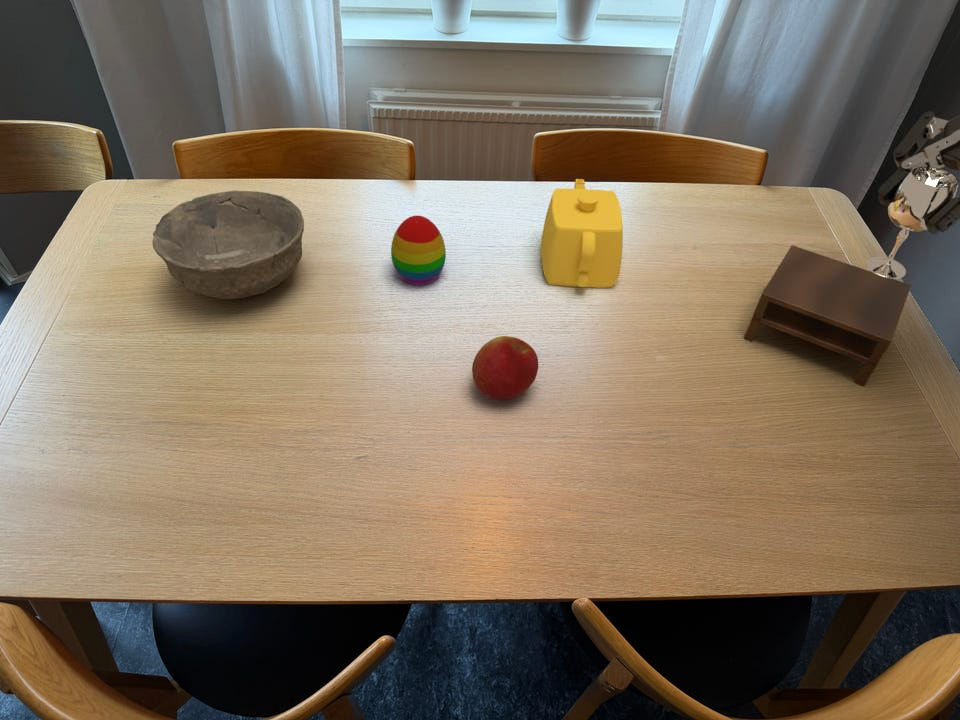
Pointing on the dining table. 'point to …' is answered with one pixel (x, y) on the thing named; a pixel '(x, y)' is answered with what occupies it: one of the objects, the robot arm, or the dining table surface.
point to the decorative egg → (418, 250)
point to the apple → (505, 367)
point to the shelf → (832, 306)
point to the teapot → (582, 238)
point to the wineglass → (914, 211)
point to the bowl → (231, 242)
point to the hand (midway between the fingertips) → (905, 214)
